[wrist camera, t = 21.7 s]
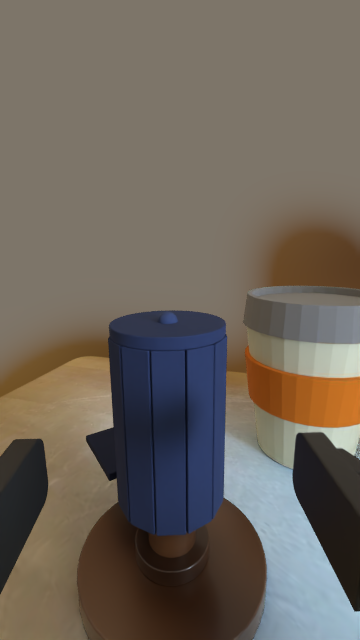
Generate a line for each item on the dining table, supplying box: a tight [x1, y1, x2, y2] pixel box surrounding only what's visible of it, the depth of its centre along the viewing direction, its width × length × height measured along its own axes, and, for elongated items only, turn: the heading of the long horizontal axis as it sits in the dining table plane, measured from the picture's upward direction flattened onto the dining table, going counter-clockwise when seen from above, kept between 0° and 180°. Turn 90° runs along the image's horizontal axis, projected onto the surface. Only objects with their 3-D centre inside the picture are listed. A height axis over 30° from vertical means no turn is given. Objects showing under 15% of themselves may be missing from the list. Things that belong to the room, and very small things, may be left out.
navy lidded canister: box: [86, 311, 227, 536], centre depth 19 cm, size 10×6×10 cm, turn 32°
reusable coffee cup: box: [243, 286, 360, 469], centre depth 31 cm, size 12×12×15 cm
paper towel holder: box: [77, 498, 267, 640], centre depth 18 cm, size 11×11×15 cm
